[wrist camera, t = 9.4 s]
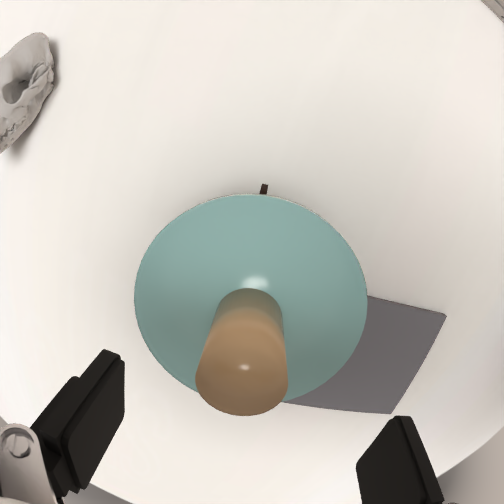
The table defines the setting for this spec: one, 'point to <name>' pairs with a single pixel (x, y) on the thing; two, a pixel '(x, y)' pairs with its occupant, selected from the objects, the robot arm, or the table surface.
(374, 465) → the robot arm
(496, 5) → the cassette
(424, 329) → the mat
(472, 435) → the table surface
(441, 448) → the table surface
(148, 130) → the table surface
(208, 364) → the lid
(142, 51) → the table surface
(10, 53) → the skull
